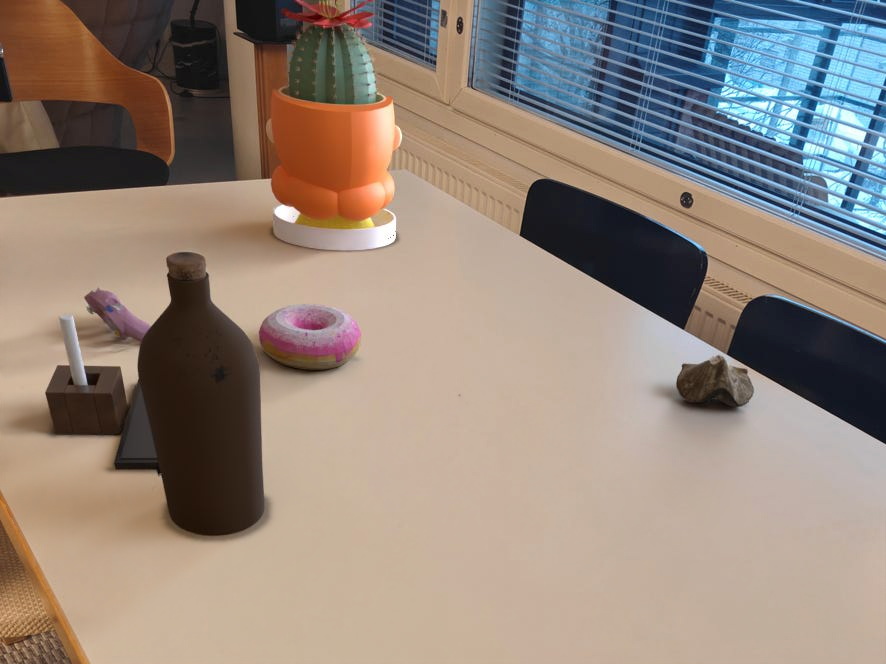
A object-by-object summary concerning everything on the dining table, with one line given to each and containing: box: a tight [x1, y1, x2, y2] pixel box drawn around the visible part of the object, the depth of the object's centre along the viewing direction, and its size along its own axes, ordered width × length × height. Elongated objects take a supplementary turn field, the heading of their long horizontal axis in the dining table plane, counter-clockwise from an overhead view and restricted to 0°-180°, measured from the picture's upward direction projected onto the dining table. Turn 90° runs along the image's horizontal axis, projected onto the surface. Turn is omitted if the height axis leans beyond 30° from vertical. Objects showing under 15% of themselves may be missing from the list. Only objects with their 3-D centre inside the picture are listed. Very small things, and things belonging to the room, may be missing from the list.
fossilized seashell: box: [675, 354, 755, 408], centre depth 119 cm, size 8×7×10 cm
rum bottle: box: [137, 251, 265, 537], centre depth 82 cm, size 11×11×25 cm
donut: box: [258, 303, 362, 371], centre depth 119 cm, size 14×13×5 cm
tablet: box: [113, 377, 158, 470], centre depth 103 cm, size 11×20×1 cm, turn 9°
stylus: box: [58, 313, 88, 385], centre depth 98 cm, size 1×1×12 cm
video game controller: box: [83, 286, 152, 343], centre depth 118 cm, size 10×5×7 cm, turn 42°
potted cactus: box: [265, 0, 403, 251], centre depth 145 cm, size 22×22×35 cm
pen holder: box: [44, 364, 129, 435], centre depth 100 cm, size 7×7×5 cm
